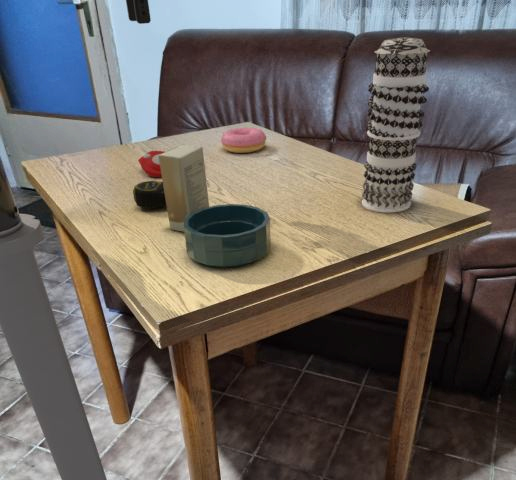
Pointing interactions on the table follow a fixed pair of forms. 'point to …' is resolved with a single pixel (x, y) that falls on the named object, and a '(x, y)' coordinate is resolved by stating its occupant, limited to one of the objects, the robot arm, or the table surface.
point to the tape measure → (149, 194)
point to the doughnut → (243, 140)
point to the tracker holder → (151, 163)
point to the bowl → (227, 235)
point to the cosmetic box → (183, 183)
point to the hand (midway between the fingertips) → (139, 22)
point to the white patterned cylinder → (394, 123)
